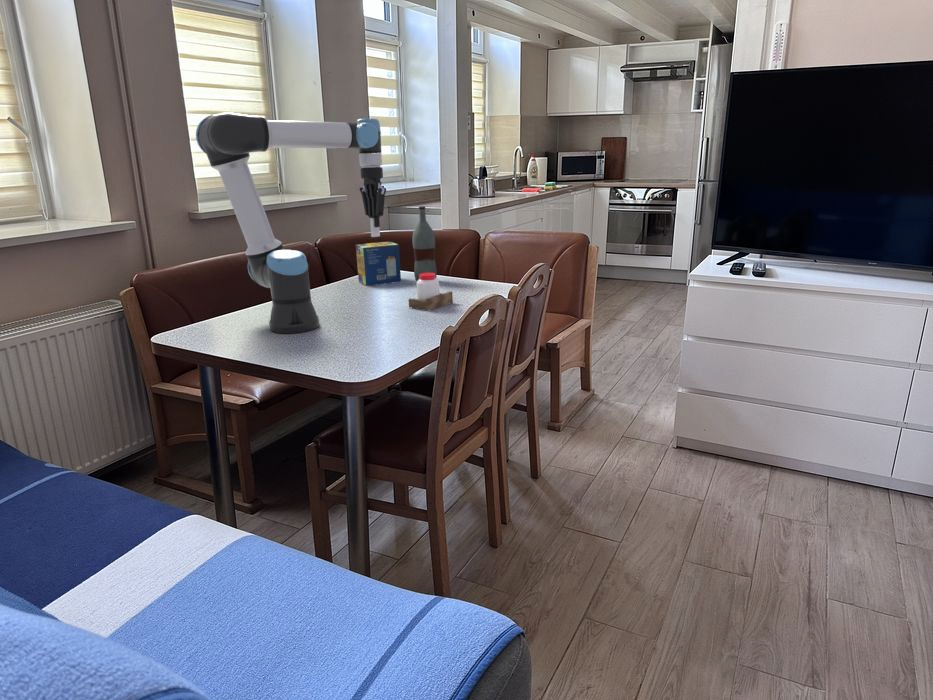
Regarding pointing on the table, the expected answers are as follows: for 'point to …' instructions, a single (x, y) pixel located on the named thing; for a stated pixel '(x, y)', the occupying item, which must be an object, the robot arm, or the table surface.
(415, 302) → the dock
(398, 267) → the protein box
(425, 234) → the grey-green bottle
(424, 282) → the pill bottle
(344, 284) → the table surface
